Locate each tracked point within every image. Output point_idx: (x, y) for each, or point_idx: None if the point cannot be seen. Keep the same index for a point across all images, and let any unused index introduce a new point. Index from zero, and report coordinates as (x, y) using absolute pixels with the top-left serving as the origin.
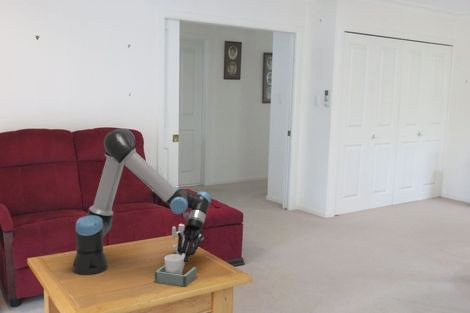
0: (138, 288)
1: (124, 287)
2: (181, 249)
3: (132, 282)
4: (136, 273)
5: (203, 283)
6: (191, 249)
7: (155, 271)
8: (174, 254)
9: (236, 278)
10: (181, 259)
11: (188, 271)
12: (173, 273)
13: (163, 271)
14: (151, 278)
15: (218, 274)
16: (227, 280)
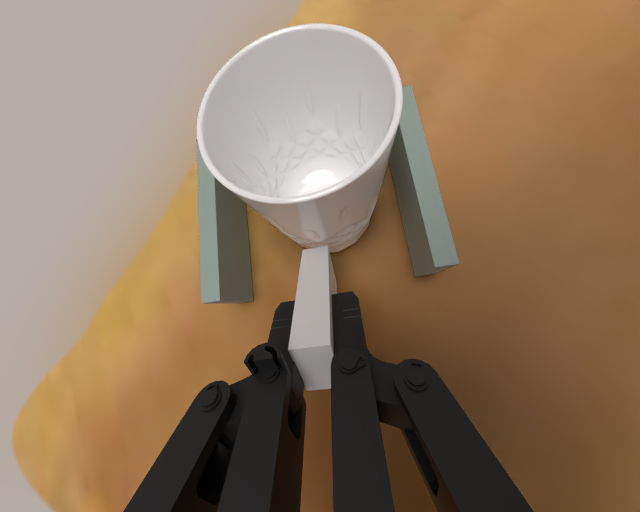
0: (413, 44)
1: (482, 13)
2: (373, 404)
3: (499, 69)
4: (600, 165)
5: (173, 251)
6: (198, 444)
7: (410, 91)
8: (342, 181)
9: (50, 396)
10: (200, 125)
11: (214, 210)
12: (290, 144)
13: (405, 187)
14: (450, 160)
15: (147, 406)
16: (83, 346)
